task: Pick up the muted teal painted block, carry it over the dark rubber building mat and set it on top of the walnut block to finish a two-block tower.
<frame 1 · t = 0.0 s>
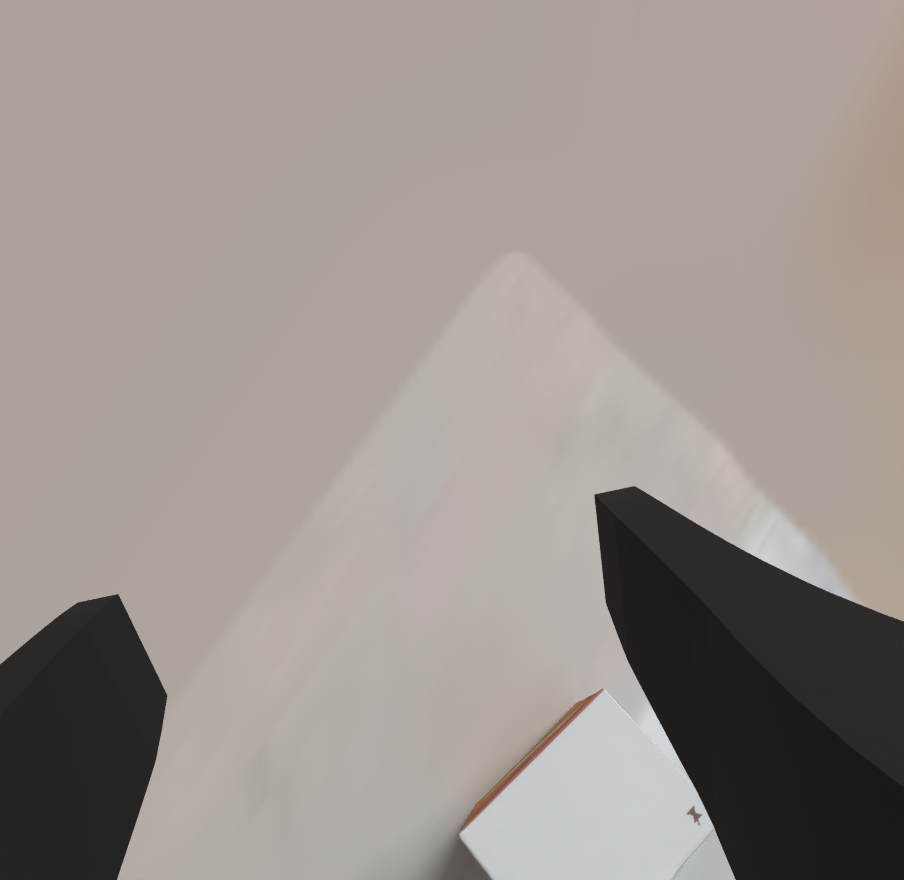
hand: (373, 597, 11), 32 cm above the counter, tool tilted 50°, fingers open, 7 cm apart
small box: (564, 799, 38), on the counter
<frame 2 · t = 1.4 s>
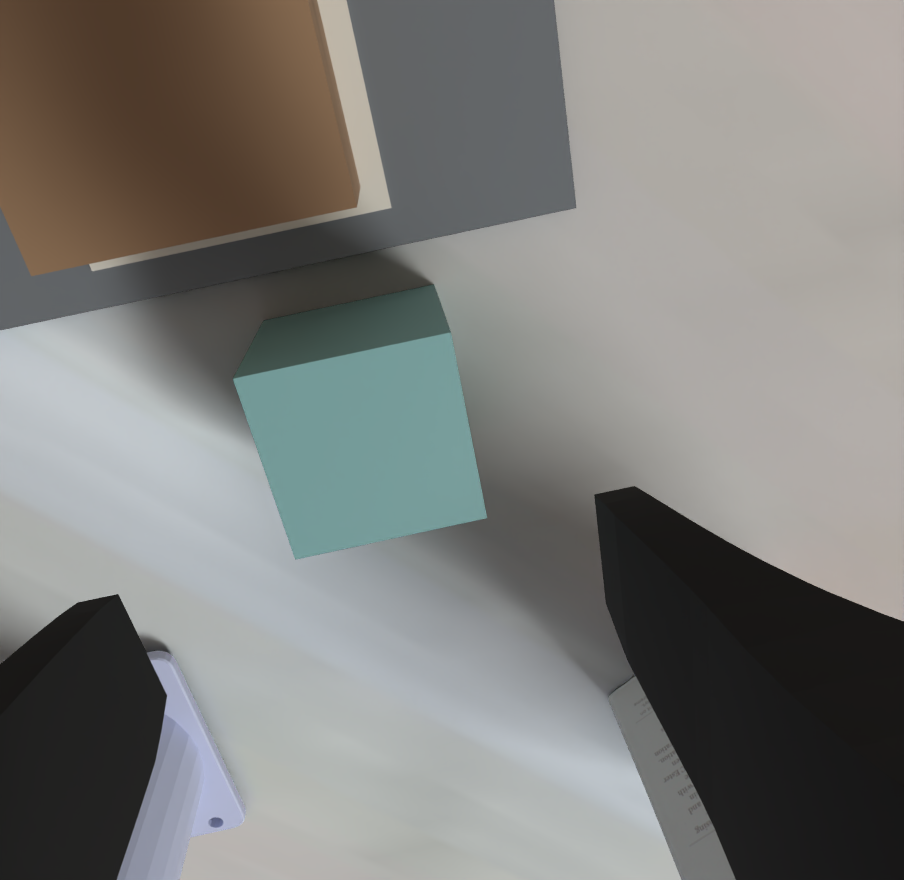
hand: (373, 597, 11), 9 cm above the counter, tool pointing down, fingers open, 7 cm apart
mat: (196, 72, 16), on the counter
walnut block: (189, 70, 15), point 1 cm above the counter, touching mat
teal block: (369, 381, 19), on the counter
small box: (731, 698, 26), on the counter
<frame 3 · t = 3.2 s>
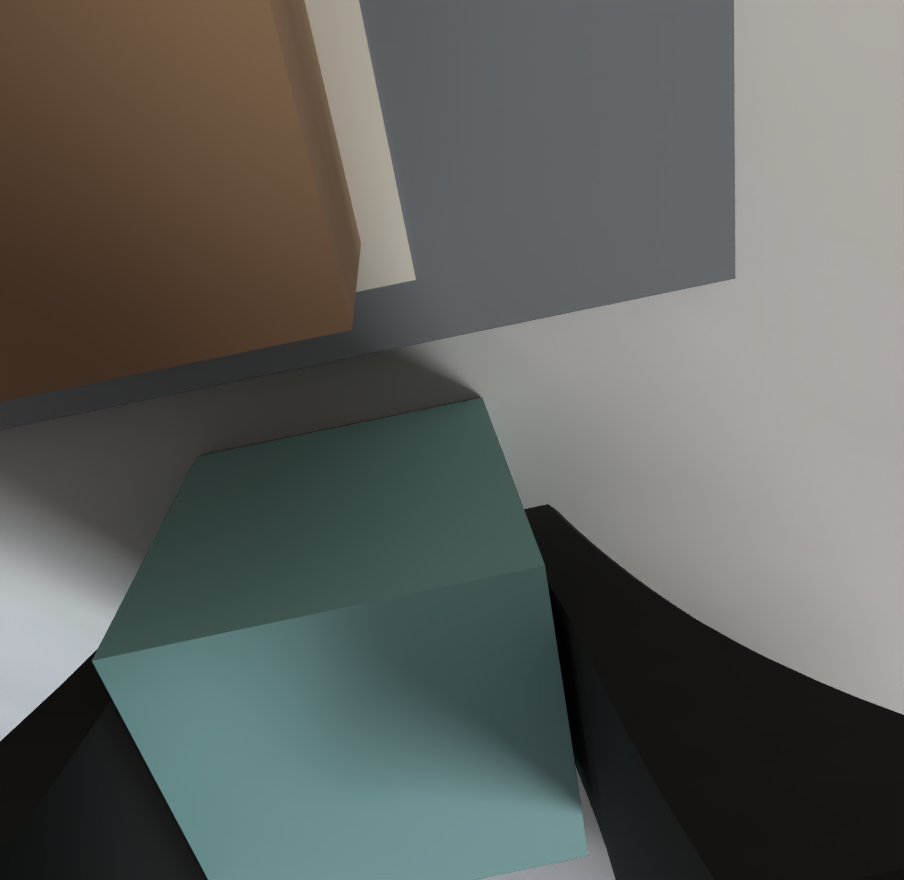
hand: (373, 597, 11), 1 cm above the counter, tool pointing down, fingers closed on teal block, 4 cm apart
mat: (56, 31, 8), on the counter
walnut block: (30, 24, 8), point 1 cm above the counter, touching mat
teal block: (372, 545, 12), on the counter, touching gripper
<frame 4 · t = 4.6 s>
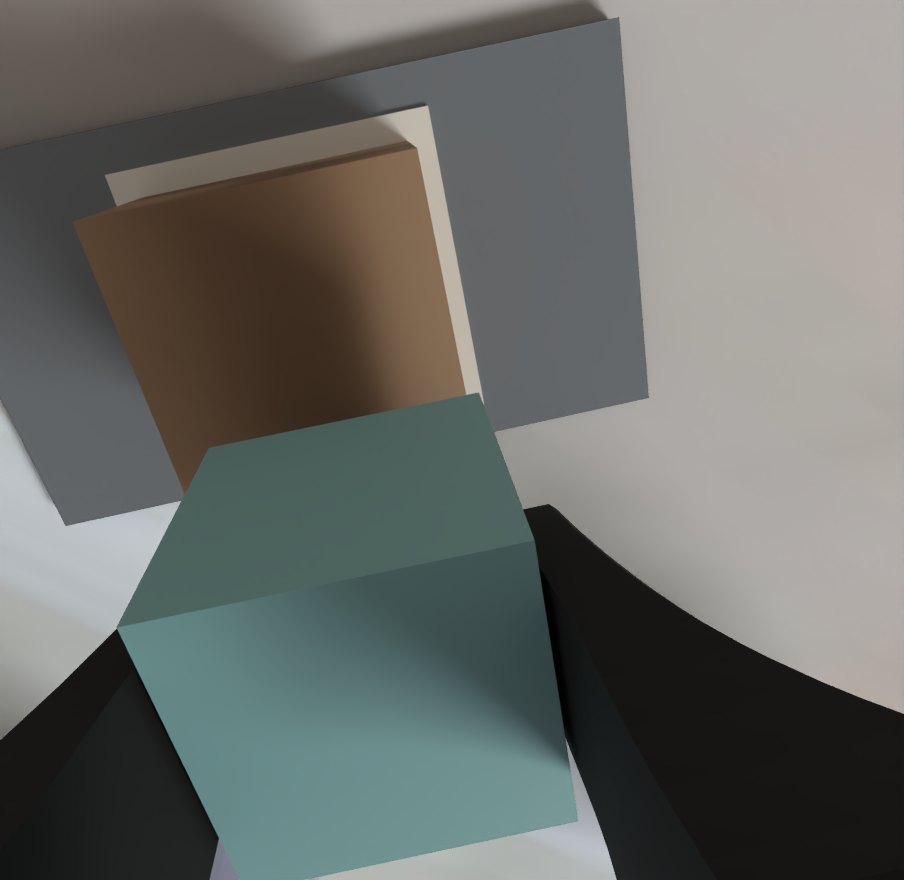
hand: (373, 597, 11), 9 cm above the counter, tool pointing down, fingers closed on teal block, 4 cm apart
mat: (314, 293, 18), on the counter
walnut block: (312, 300, 17), point 1 cm above the counter, touching mat
teal block: (375, 534, 12), point 7 cm above the counter, touching gripper
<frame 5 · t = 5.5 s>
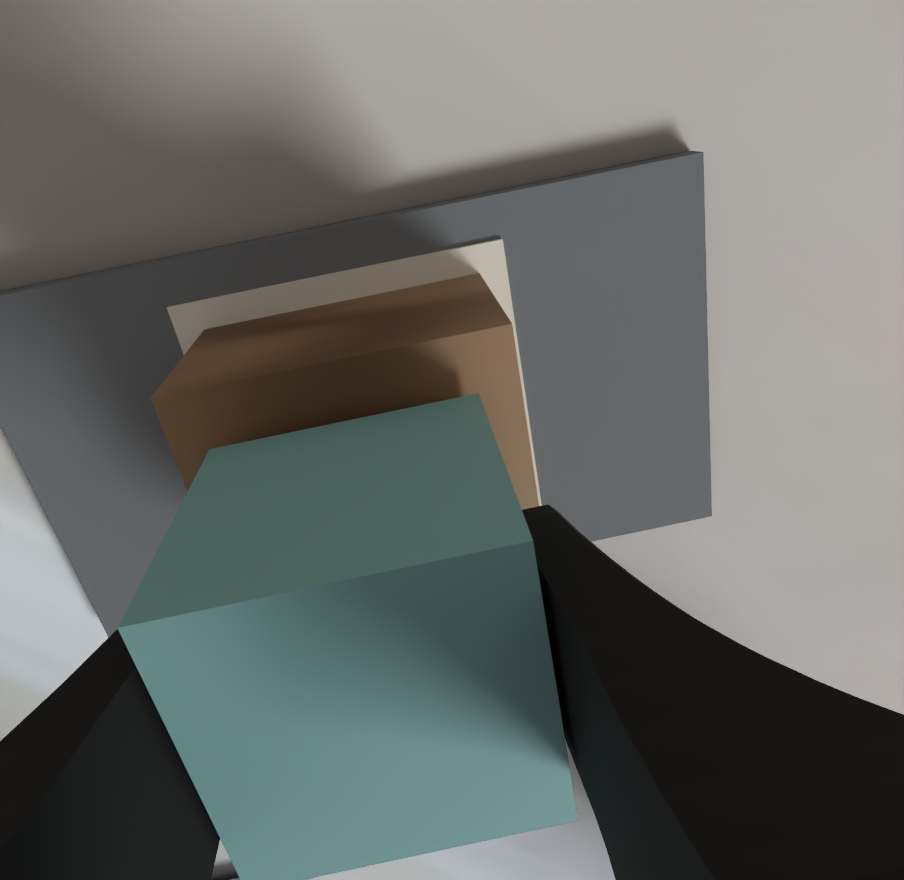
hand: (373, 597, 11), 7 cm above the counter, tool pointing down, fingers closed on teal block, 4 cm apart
mat: (373, 414, 17), on the counter
walnut block: (373, 426, 16), point 1 cm above the counter, touching mat
teal block: (375, 535, 13), point 5 cm above the counter, touching gripper
when the fingers open (7 cm above the counter, at t = 6.0 s): teal block stays where it is, resting on walnut block.
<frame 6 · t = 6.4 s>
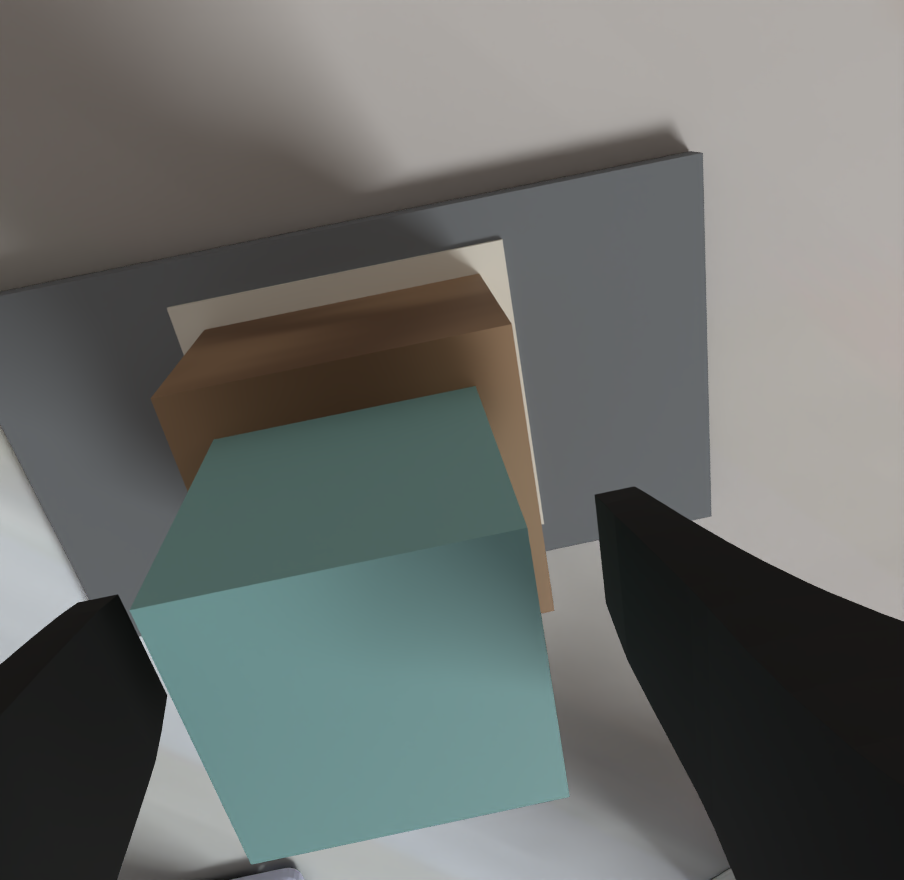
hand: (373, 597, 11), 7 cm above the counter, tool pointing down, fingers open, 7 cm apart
mat: (373, 414, 17), on the counter
walnut block: (373, 426, 16), point 1 cm above the counter, touching mat, teal block
teal block: (374, 523, 13), point 5 cm above the counter, touching walnut block
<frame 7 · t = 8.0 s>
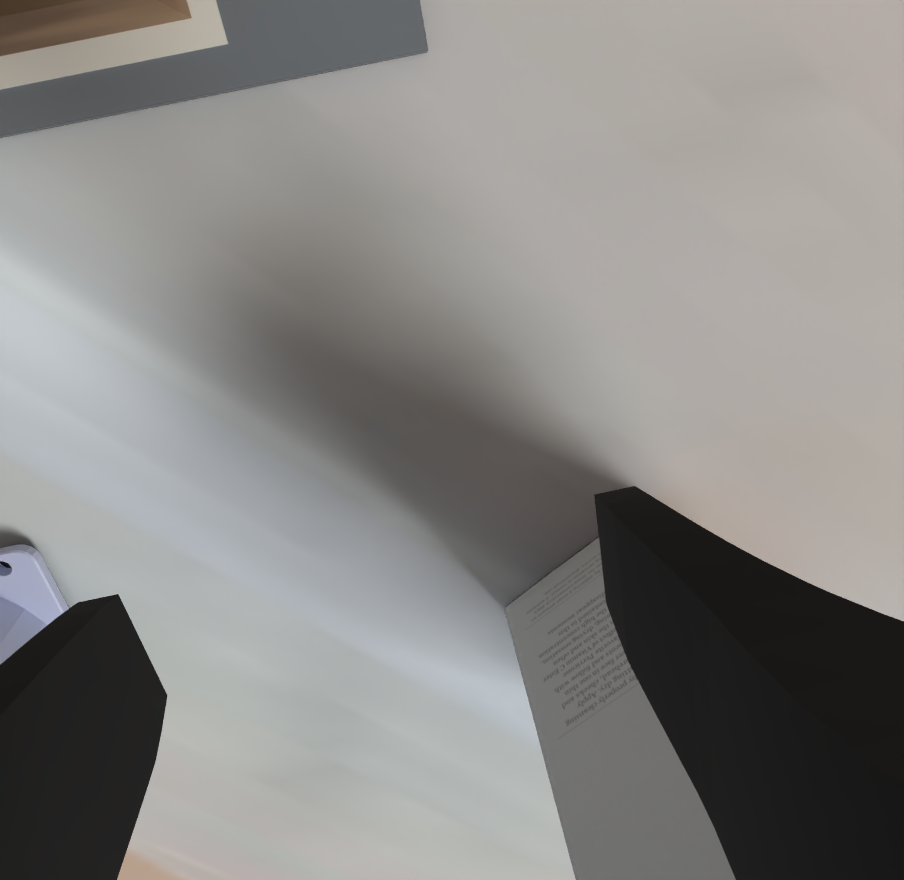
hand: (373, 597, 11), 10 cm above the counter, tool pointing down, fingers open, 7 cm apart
small box: (637, 615, 25), on the counter
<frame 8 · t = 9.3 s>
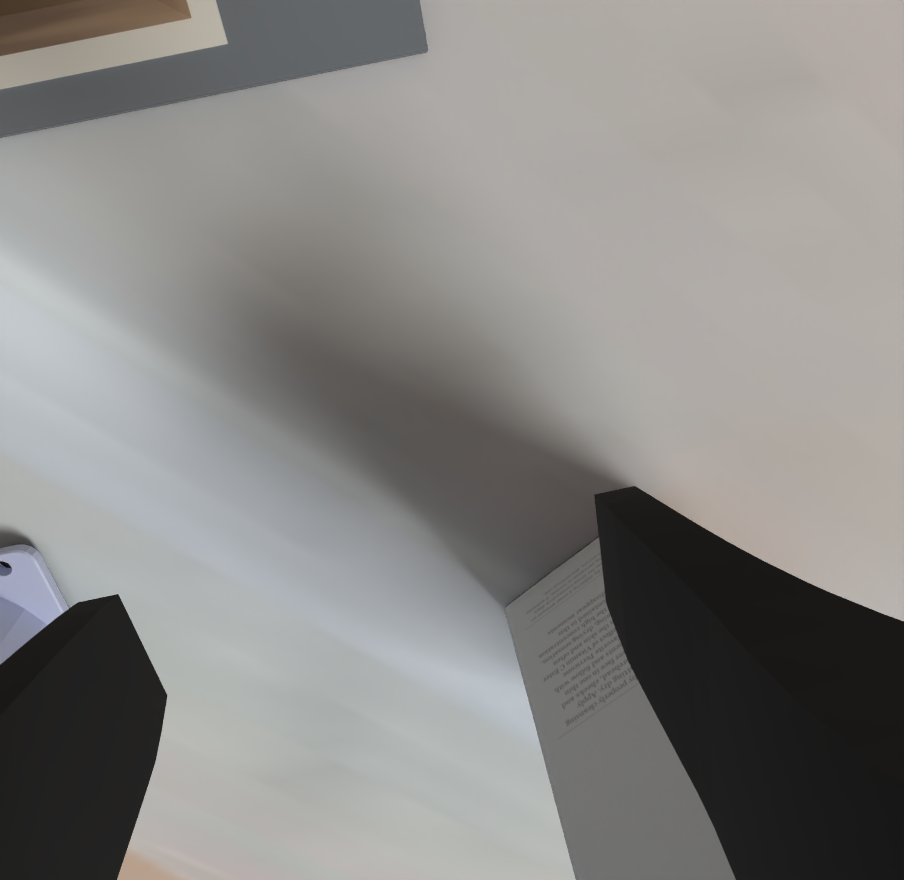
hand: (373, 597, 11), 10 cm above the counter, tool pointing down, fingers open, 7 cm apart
small box: (637, 615, 25), on the counter
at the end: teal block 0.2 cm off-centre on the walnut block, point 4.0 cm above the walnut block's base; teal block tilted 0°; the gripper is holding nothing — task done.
